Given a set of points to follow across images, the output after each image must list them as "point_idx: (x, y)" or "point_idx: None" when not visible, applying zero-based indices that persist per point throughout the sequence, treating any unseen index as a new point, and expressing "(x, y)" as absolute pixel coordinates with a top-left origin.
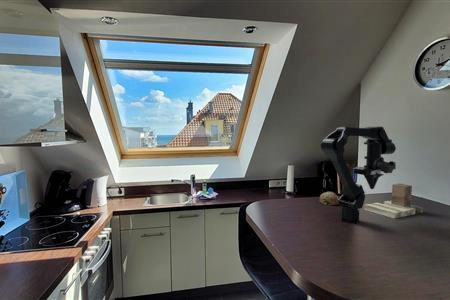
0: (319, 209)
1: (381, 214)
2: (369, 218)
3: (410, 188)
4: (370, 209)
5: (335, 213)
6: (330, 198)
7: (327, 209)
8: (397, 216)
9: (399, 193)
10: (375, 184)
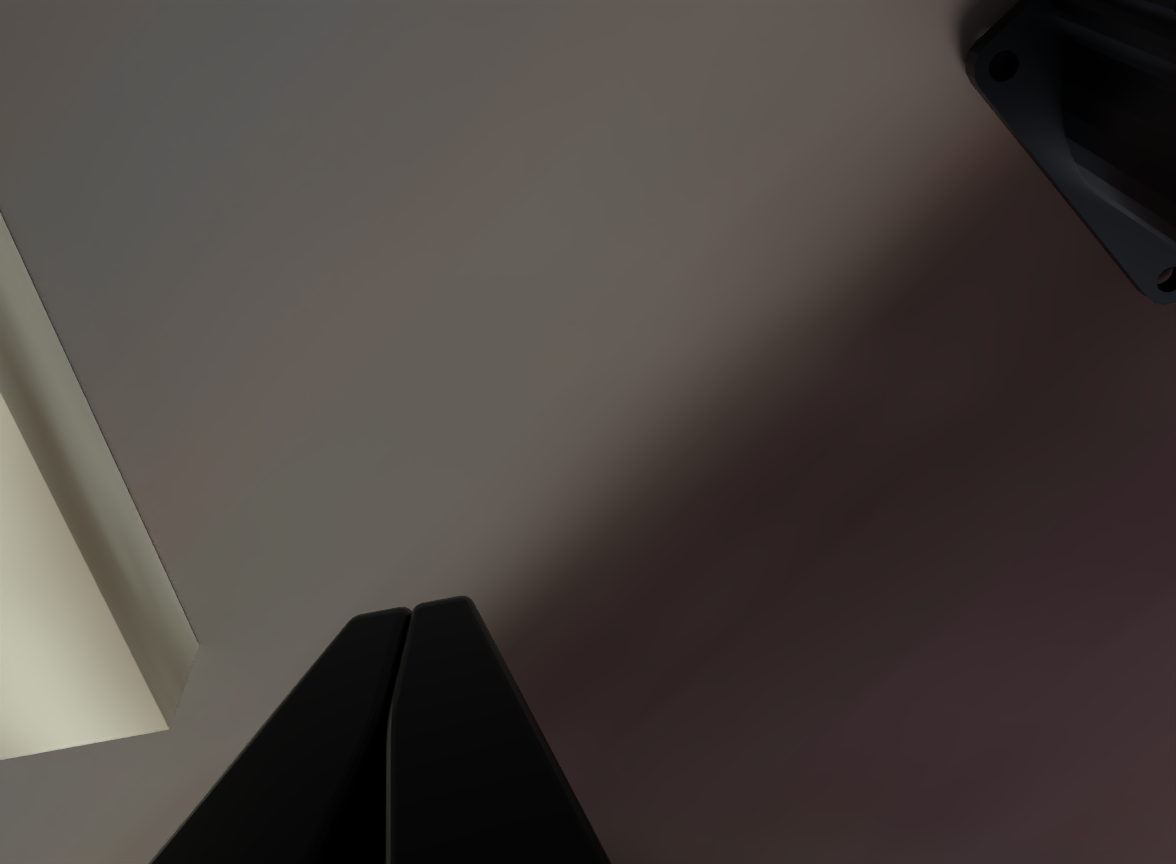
0: (1125, 775)
1: (18, 259)
2: (585, 64)
3: None
4: (127, 546)
5: (1053, 534)
6: None
7: (977, 756)
8: None
9: None
10: (198, 825)
